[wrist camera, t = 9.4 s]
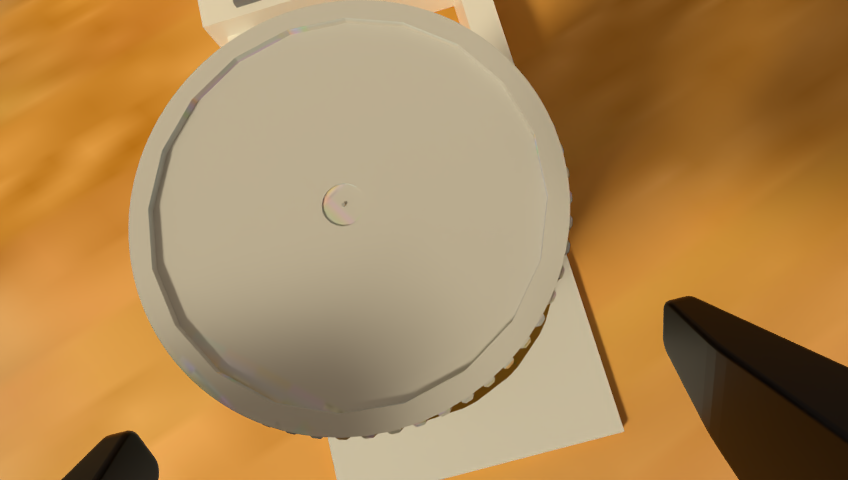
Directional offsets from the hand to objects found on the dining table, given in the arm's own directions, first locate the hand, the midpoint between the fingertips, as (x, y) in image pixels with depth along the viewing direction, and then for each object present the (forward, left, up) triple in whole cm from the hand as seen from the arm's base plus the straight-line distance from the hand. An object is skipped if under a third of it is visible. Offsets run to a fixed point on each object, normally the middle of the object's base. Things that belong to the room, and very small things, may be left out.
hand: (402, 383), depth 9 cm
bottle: (+2, -2, -13) cm, 13 cm away
